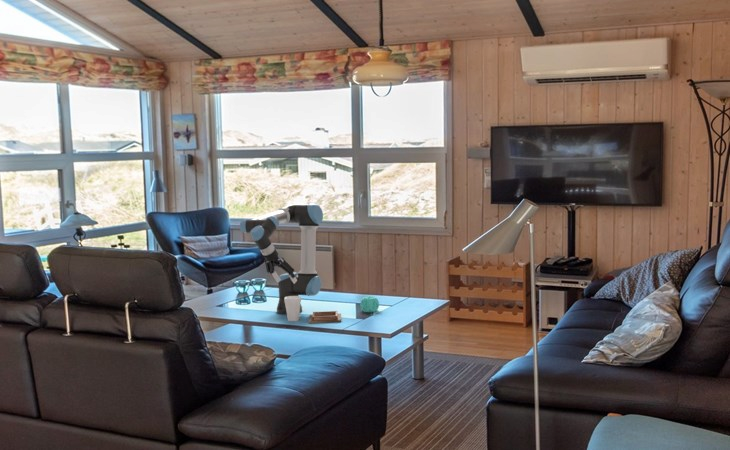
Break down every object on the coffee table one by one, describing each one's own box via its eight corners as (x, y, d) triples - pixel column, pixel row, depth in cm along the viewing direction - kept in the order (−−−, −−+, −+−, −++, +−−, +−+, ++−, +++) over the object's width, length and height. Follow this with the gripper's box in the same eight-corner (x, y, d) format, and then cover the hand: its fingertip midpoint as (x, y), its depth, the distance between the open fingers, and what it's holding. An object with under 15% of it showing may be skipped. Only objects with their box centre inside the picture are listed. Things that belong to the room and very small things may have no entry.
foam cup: (289, 318, 430) (288, 295, 429) (304, 318, 427) (303, 296, 426) (282, 321, 421) (281, 298, 420) (297, 322, 418) (296, 299, 417)
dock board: (309, 316, 431) (309, 311, 431) (341, 315, 432) (340, 310, 432) (308, 323, 413) (308, 317, 413) (341, 322, 414) (340, 316, 414)
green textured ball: (379, 310, 443) (379, 297, 442) (370, 312, 437) (370, 299, 436) (369, 309, 448) (368, 296, 447) (360, 311, 442) (359, 298, 441)
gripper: (250, 256, 411) (268, 285, 421) (280, 256, 395) (298, 286, 404) (258, 247, 416) (276, 276, 425) (288, 247, 399) (306, 277, 409)
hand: (287, 281), depth 415 cm, fingers open, 13 cm apart
